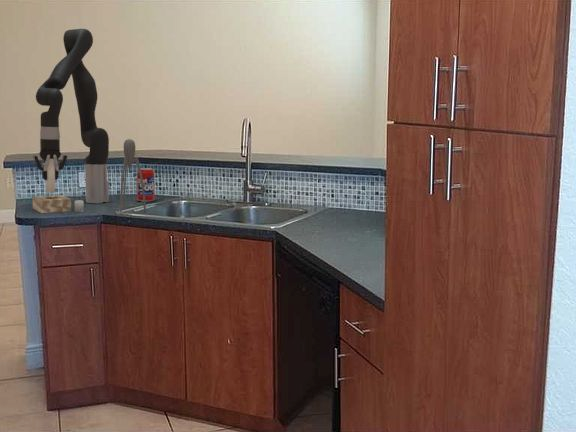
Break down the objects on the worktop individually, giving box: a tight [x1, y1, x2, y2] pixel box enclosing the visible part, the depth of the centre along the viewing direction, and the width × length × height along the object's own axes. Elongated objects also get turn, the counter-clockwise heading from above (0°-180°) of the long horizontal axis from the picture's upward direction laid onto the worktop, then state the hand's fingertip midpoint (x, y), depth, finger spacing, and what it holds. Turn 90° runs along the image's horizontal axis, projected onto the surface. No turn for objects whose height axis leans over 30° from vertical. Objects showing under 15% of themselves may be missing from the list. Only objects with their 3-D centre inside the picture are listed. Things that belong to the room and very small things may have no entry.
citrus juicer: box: [119, 138, 147, 213], centre depth 295 cm, size 11×10×30 cm
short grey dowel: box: [74, 199, 85, 213], centre depth 294 cm, size 4×4×4 cm
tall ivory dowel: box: [45, 159, 56, 194], centre depth 294 cm, size 4×4×14 cm
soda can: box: [136, 167, 155, 203], centre depth 326 cm, size 8×8×15 cm
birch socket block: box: [31, 195, 72, 214], centre depth 296 cm, size 12×12×5 cm
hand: (50, 179), depth 294 cm, fingers closed on tall ivory dowel, 3 cm apart
